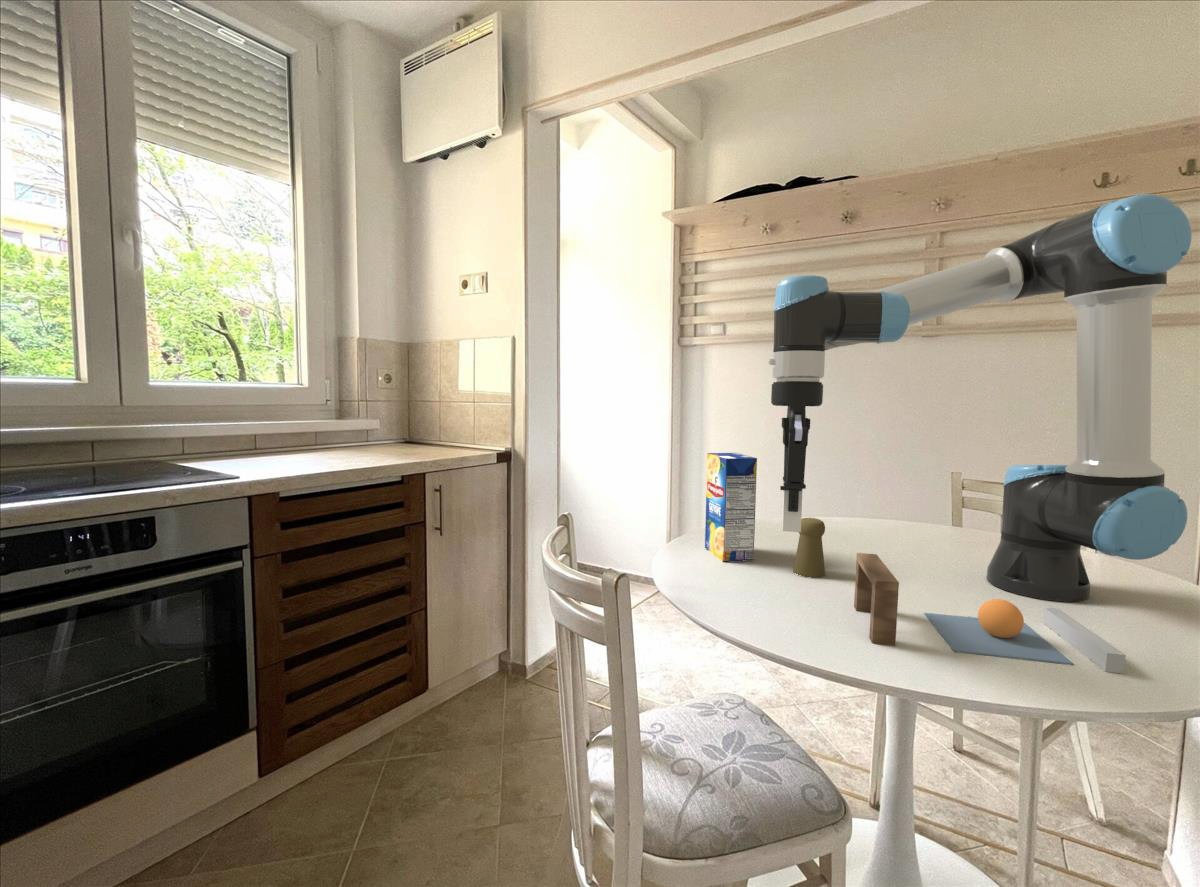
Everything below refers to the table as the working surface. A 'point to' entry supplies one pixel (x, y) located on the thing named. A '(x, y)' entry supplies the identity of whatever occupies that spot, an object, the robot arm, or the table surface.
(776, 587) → the table surface
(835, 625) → the table surface
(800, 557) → the cork
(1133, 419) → the robot arm
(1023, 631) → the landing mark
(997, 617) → the ball
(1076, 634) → the wall
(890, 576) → the bridge
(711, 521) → the beverage box
